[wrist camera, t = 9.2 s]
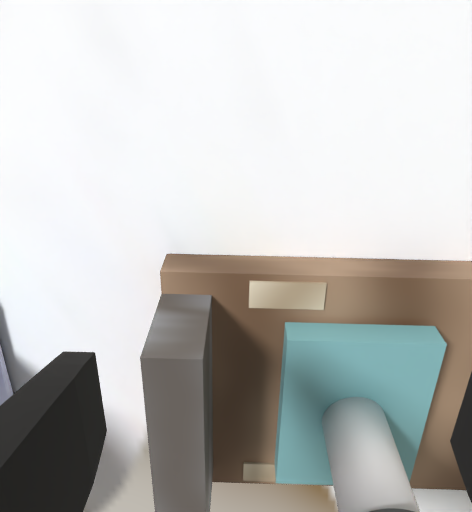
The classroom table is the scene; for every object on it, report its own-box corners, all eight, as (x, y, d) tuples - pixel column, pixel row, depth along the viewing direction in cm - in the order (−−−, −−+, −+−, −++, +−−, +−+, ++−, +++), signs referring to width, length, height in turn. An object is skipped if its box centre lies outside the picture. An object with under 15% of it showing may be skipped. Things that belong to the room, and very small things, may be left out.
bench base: (178, 454, 24) (160, 563, 19) (166, 253, 19) (137, 331, 14) (515, 464, 24) (585, 578, 19) (597, 264, 19) (725, 347, 14)
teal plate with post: (274, 460, 22) (285, 634, 15) (284, 322, 18) (304, 473, 12) (400, 465, 22) (462, 641, 15) (435, 326, 18) (534, 480, 12)
